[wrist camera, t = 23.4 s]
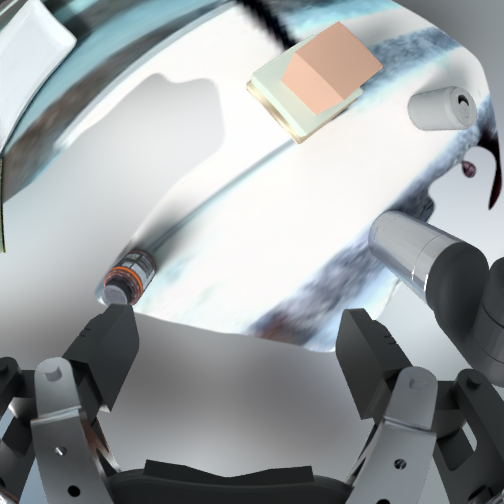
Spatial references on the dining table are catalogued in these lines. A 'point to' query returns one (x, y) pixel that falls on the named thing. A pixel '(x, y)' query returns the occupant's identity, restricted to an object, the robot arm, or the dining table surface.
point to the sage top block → (292, 94)
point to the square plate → (28, 60)
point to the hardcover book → (1, 219)
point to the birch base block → (280, 118)
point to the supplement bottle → (128, 279)
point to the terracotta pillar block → (329, 68)
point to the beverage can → (443, 110)
